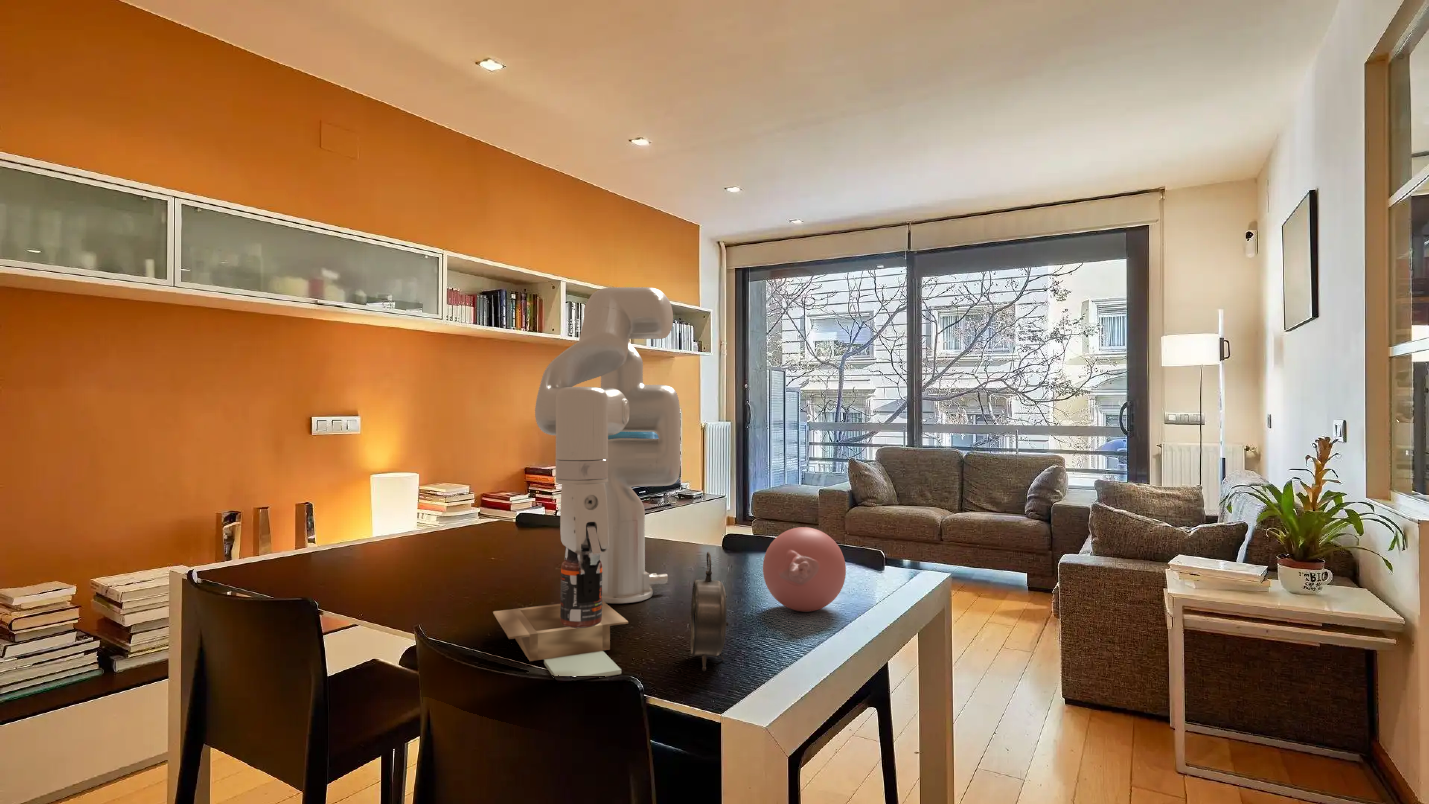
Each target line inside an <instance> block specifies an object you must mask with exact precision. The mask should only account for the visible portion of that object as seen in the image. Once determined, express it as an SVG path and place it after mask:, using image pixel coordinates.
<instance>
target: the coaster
mask: <svg viewBox="0 0 1429 804" xmlns="http://www.w3.org/2000/svg"><path fill="white" fill-rule="evenodd" d="M543 664H544V666H545V667H546V669H547V670H548V671H549V673H550V674H551V676H552V675H554V676H558V675H559V676H605V677H611V676H617V675H622V668H621V667H620V666H618V665H617V664H616V662H615V661H614V660H613V659H611V657H609V655H607V653H606V652H605V650H603V651H597V652H590V653H583V654H576V655H569V656H562V657H556V658H549V659H543Z"/></svg>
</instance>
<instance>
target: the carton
mask: <svg viewBox="0 0 1429 804" xmlns="http://www.w3.org/2000/svg"><path fill="white" fill-rule="evenodd" d="M602 604H603V605H602V620H601V622H600V623H599V624H597V625H595V626H592V627H587V628H571V627H567V626H564V625H563V624H562V623H561V620H560V619H561V617H560V608H561V607H560V606H561V603H554V604H547V605H546V604H545V605H538V606H536V605H535V606H529V607H520V608H513V609H503V610H501V609H500V610H494V611H492V613H493V615H494V617H495V618H496V620H497V622H498V624H499V625H500V627H501V628H502V630H503V632H504V633H505V635H506V637H507V638H508V640H514V639H515V641H516V642H517V644H518V645H519V647H520V649H521V650H522V652H523V653H524V655H525V657H527V659H528V660H529V662H534V661H541V660H544V659H551V658H557V657H564V656H571V655H578V654H585V653H592V652H598V651H610V650H611V641H610V640H611V627H612V626H618V625H626V624H629V621H628V620H627V619H626V618H625V617H624V616H622V615H621V614H620V613H618V612H617V611H616V610H615V609H613V608H612V607H611V606H610V605H608V603H605V602H604V601H602Z"/></svg>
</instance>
